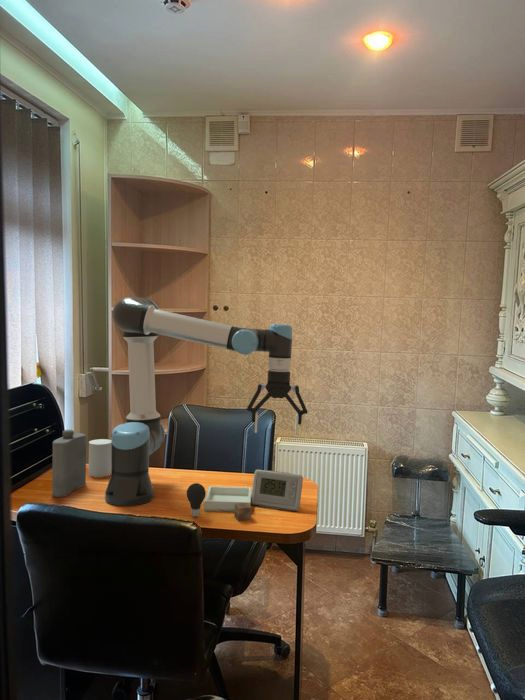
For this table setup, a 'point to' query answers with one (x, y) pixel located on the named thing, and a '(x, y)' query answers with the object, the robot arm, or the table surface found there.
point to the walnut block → (243, 512)
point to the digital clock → (277, 490)
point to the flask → (68, 463)
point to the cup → (100, 457)
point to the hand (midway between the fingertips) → (276, 433)
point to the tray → (226, 498)
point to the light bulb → (195, 497)
